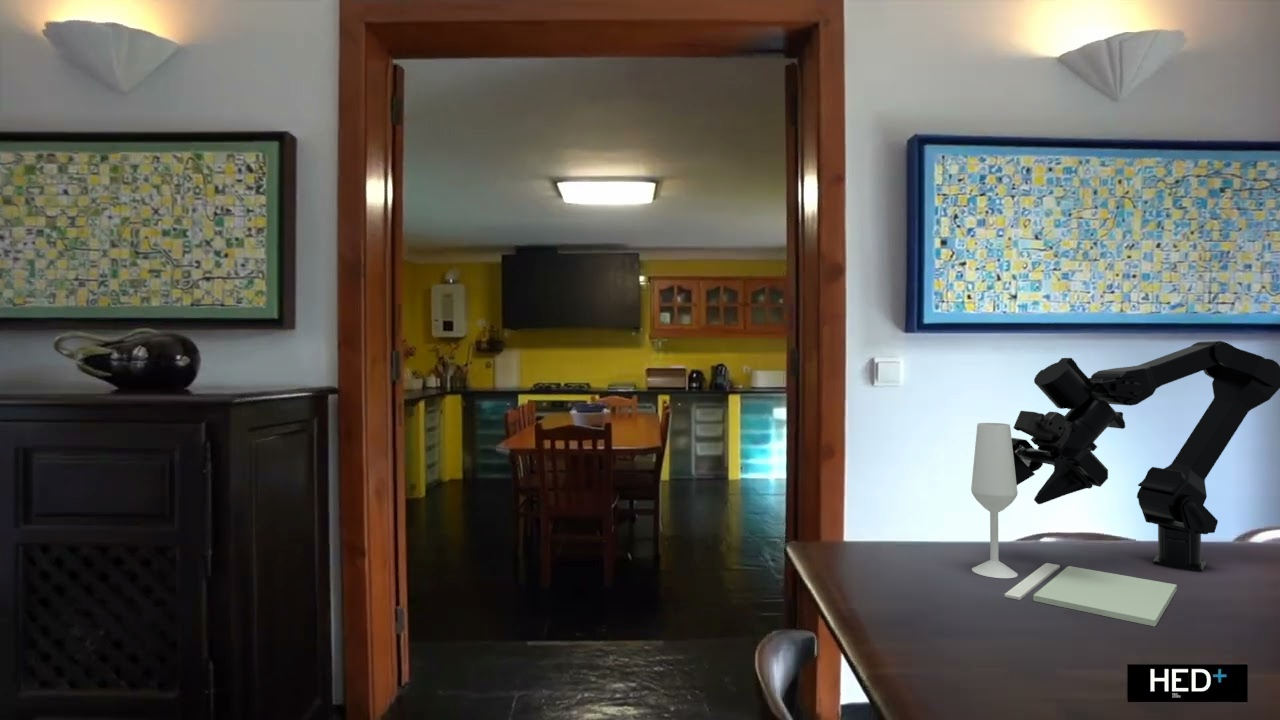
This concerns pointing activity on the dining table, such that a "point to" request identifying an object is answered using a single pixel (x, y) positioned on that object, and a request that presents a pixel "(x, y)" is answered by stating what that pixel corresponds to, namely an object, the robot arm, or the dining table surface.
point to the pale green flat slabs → (1099, 593)
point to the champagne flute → (994, 486)
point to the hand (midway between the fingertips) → (1017, 496)
